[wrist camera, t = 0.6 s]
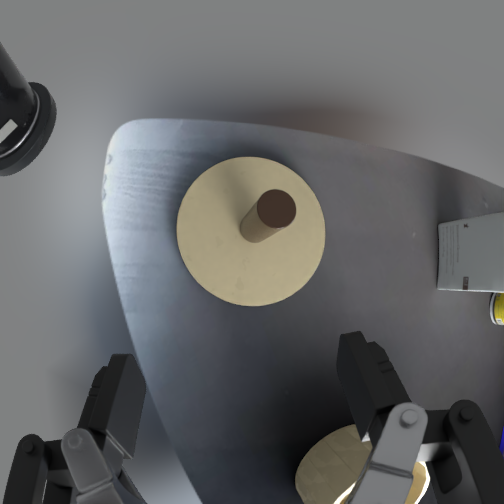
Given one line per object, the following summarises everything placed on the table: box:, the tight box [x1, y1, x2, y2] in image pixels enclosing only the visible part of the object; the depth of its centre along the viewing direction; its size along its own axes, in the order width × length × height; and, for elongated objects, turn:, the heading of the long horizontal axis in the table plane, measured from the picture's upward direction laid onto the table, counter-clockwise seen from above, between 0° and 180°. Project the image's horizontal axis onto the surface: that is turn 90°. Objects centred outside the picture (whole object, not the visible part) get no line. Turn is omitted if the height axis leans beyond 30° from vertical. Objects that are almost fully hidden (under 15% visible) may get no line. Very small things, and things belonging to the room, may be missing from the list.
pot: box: [295, 424, 430, 504], centre depth 23 cm, size 12×12×8 cm
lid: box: [176, 157, 325, 306], centre depth 23 cm, size 13×13×9 cm
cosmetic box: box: [437, 212, 504, 293], centre depth 25 cm, size 8×6×15 cm
